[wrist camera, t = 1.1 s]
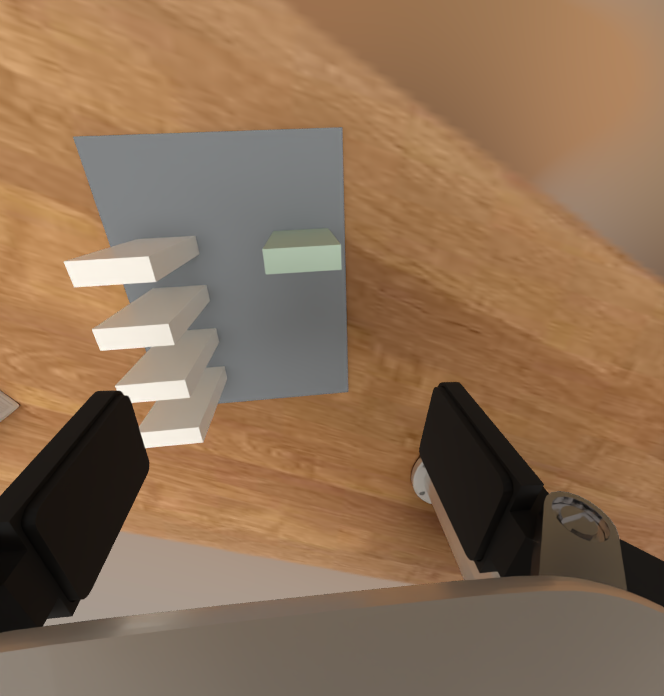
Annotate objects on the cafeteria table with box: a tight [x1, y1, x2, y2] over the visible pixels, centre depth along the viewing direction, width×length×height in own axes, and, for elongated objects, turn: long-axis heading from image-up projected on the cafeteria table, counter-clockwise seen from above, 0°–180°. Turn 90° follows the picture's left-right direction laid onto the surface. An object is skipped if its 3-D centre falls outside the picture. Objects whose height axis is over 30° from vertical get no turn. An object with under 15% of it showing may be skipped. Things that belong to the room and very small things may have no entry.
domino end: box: [262, 228, 342, 274], centre depth 25 cm, size 2×5×10 cm, turn 92°
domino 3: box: [115, 328, 219, 403], centre depth 28 cm, size 2×5×10 cm, turn 92°
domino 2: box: [92, 285, 210, 351], centre depth 26 cm, size 2×5×10 cm, turn 92°
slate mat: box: [73, 127, 348, 404], centre depth 31 cm, size 26×21×1 cm
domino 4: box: [139, 366, 227, 448], centre depth 30 cm, size 2×5×10 cm, turn 93°
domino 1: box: [64, 236, 199, 287], centre depth 24 cm, size 2×5×10 cm, turn 92°
